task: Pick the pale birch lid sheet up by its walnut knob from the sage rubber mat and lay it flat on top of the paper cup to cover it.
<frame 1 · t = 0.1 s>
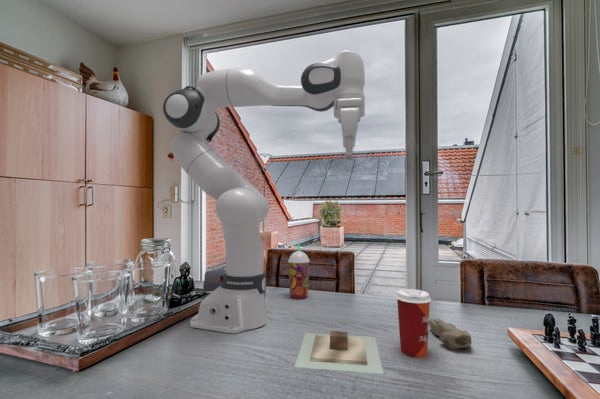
hand: (349, 157, 89), 48 cm above the table, tool pointing down, fingers open, 8 cm apart
bluetooth speaker: (236, 296, 120), on the table
sculpture: (447, 341, 79), on the table
smoothie: (298, 297, 118), on the table
lid: (338, 350, 72), resting on mat
paper cup: (413, 354, 72), on the table
mat: (338, 352, 72), on the table
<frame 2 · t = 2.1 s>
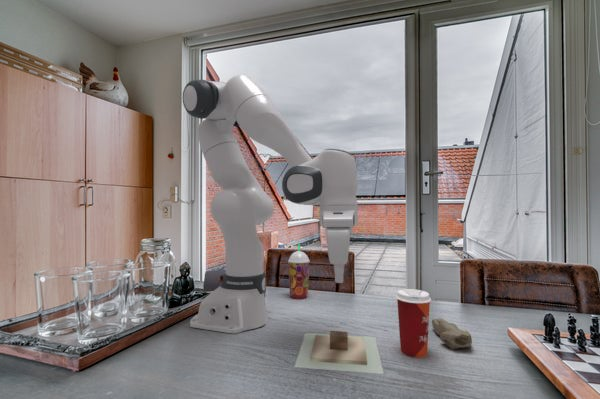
hand: (339, 277, 73), 17 cm above the table, tool pointing down, fingers open, 8 cm apart
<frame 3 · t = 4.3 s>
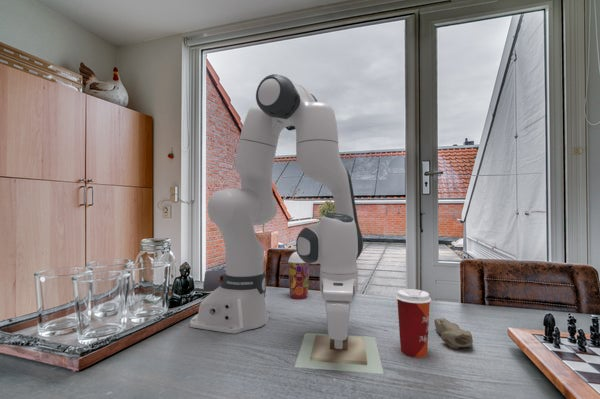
hand: (338, 343, 72), 2 cm above the table, tool pointing down, fingers closed on lid, 3 cm apart
lid: (338, 350, 72), point 1 cm above the table, touching gripper, mat
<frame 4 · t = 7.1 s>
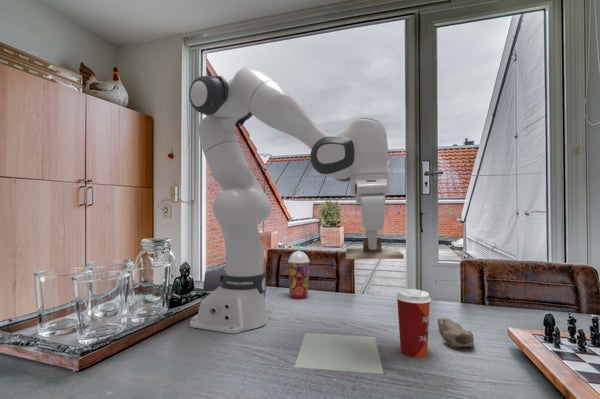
hand: (371, 248, 72), 24 cm above the table, tool pointing down, fingers closed on lid, 3 cm apart
lid: (372, 254, 72), point 23 cm above the table, touching gripper
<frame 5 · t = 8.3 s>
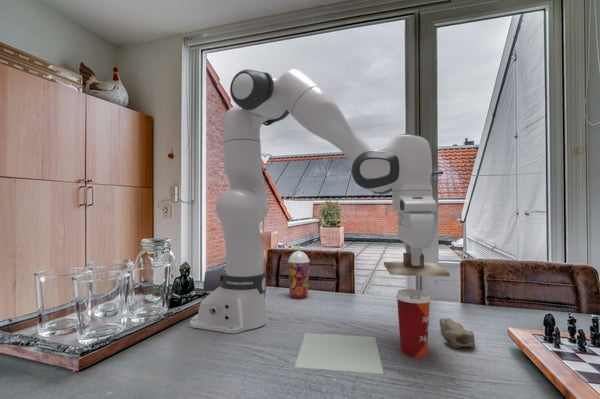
hand: (413, 263, 72), 21 cm above the table, tool pointing down, fingers closed on lid, 3 cm apart
lid: (413, 270, 72), point 19 cm above the table, touching gripper
when the fingers open (17 cm above the table, at t = 9.6 s): lid drops 1 cm, resting on paper cup.
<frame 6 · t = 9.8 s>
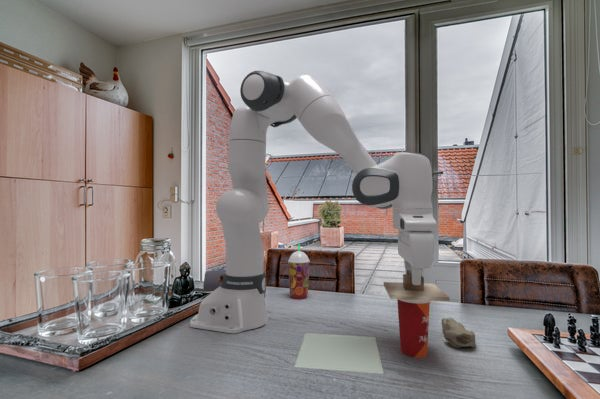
hand: (412, 281, 72), 17 cm above the table, tool pointing down, fingers open, 5 cm apart
lid: (413, 292, 72), point 14 cm above the table, touching paper cup
paper cup: (413, 354, 72), on the table, touching lid
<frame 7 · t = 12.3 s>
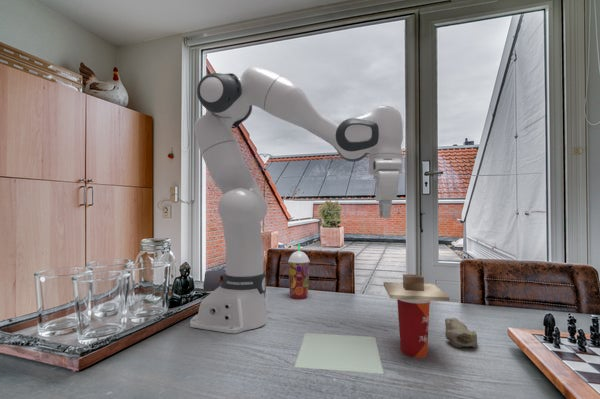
hand: (384, 217, 85), 31 cm above the table, tool pointing down, fingers open, 8 cm apart
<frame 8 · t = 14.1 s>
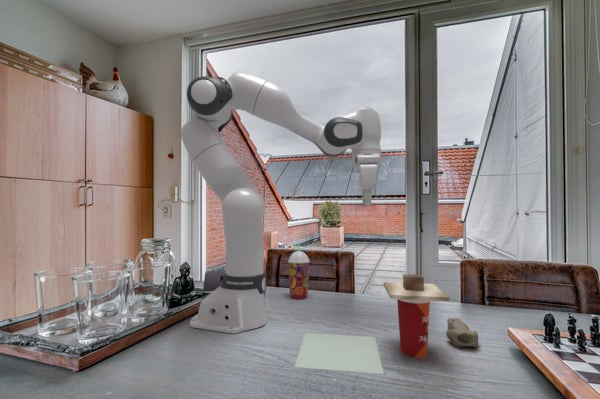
hand: (366, 206, 96), 34 cm above the table, tool pointing down, fingers open, 8 cm apart
at the end: lid 0.0 cm from the paper cup (horizontally); lid point 14.0 cm above the table; lid tilted 0° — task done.
